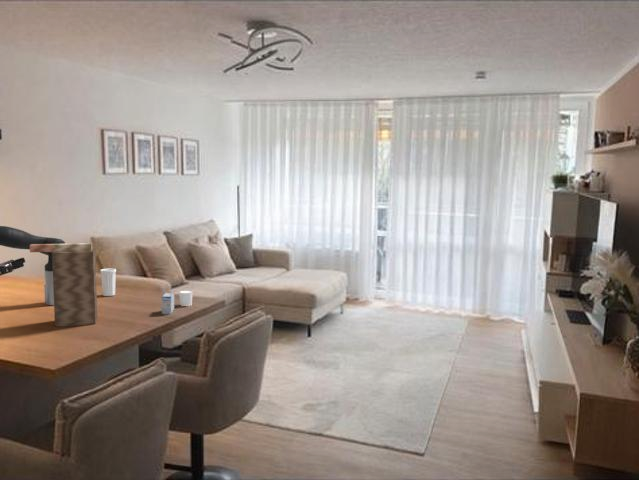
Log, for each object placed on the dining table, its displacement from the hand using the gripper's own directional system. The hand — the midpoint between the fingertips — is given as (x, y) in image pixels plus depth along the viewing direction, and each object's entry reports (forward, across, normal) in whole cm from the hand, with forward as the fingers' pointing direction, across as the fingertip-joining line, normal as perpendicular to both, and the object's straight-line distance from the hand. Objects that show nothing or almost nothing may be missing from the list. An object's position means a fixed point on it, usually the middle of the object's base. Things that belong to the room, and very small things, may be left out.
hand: (23, 261), depth 223 cm
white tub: (+58, +9, +49) cm, 76 cm away
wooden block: (+15, -2, 0) cm, 15 cm away
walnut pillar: (+10, -4, +32) cm, 34 cm away
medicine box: (+48, -2, +45) cm, 66 cm away
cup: (+25, +46, +40) cm, 66 cm away
